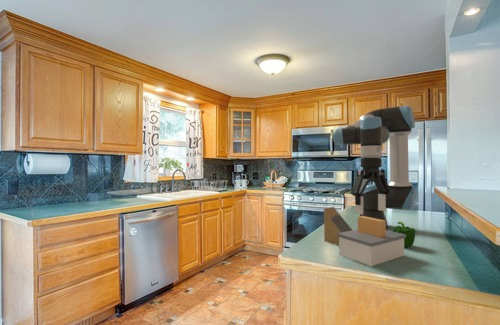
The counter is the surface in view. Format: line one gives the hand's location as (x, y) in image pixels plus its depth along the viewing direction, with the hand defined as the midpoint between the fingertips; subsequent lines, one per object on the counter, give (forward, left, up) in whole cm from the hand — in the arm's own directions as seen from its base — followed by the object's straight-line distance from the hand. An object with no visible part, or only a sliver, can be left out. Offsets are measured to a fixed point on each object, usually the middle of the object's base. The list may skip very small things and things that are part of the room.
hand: (371, 212), depth 105 cm
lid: (0, 0, -11) cm, 11 cm away
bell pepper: (-22, 0, -17) cm, 28 cm away
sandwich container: (-4, -16, -17) cm, 24 cm away
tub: (0, 0, -17) cm, 17 cm away
